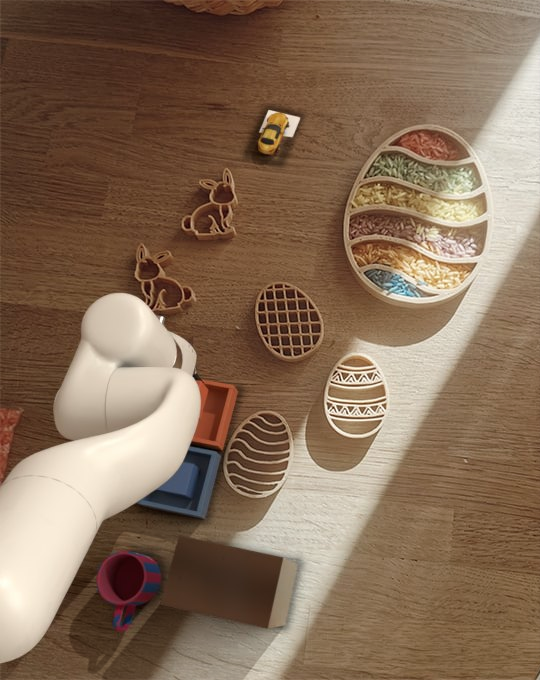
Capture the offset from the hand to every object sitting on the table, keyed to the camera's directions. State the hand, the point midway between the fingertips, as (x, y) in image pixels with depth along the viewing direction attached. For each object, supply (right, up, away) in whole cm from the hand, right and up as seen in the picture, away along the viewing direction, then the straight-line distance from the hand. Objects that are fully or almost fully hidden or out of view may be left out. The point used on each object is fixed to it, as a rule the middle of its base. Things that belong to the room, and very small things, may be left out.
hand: (188, 400), depth 102 cm
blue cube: (-2, -12, +4) cm, 13 cm away
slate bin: (-2, -12, +4) cm, 13 cm away
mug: (-7, -27, -1) cm, 28 cm away
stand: (+8, -25, -1) cm, 27 cm away
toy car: (+10, +43, +24) cm, 51 cm away
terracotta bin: (0, -3, +7) cm, 8 cm away
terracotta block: (0, 0, +1) cm, 1 cm away
